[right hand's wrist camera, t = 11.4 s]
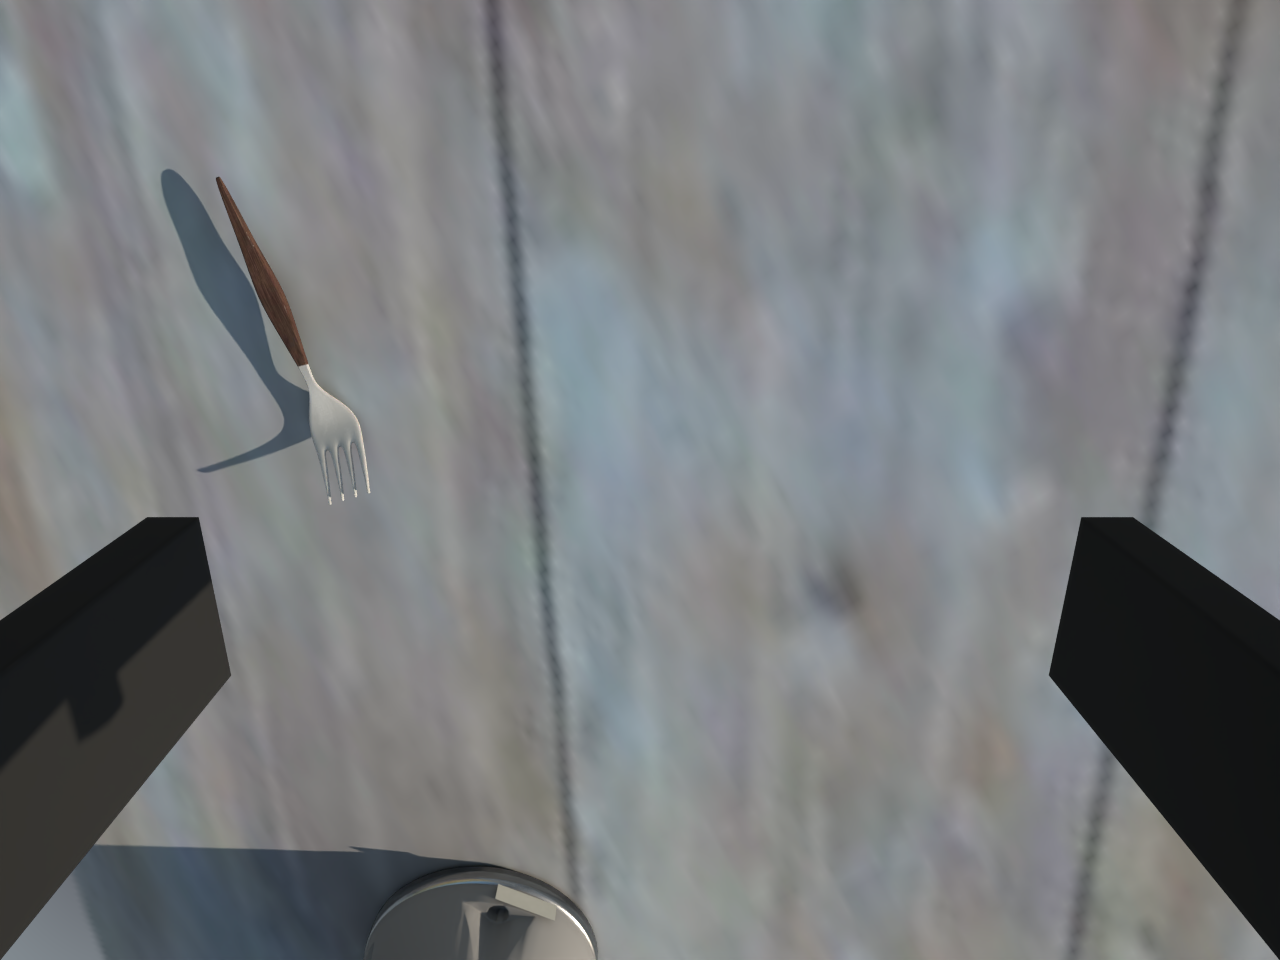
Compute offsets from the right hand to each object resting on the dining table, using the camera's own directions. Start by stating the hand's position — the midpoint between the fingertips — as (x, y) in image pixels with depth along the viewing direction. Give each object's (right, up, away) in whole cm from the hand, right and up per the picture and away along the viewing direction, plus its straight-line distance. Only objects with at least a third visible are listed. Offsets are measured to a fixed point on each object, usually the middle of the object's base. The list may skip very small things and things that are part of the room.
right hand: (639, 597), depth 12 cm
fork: (-17, +9, +28) cm, 34 cm away
